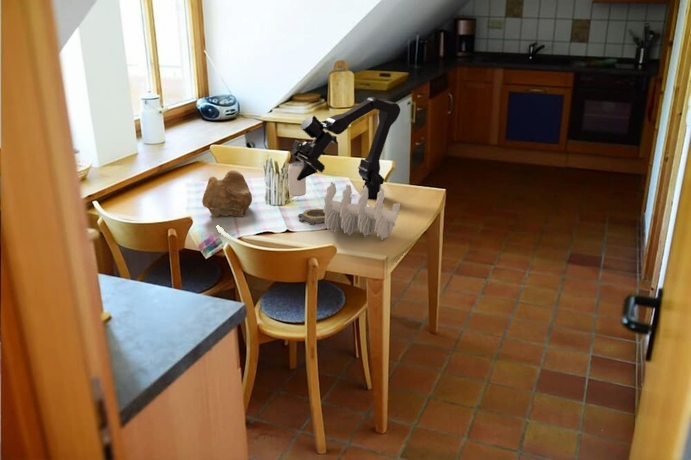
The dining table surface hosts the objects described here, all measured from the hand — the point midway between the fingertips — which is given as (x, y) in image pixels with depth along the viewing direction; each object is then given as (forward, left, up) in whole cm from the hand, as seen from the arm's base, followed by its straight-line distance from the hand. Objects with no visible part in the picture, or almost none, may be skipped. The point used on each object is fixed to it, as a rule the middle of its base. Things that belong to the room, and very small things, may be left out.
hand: (293, 177), depth 246 cm
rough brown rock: (+22, +8, -13) cm, 27 cm away
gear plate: (-11, +6, -13) cm, 18 cm away
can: (-1, -1, -7) cm, 7 cm away
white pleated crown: (-30, +18, -13) cm, 37 cm away
